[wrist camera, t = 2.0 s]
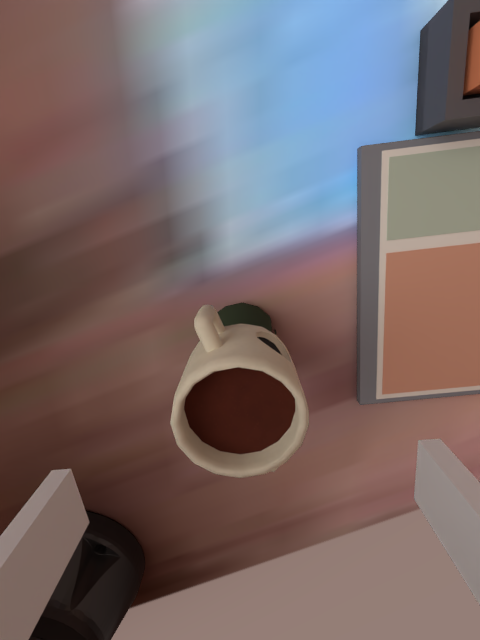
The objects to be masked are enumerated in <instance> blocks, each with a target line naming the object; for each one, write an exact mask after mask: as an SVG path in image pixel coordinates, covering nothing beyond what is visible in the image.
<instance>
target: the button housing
mask: <svg viewBox="0 0 480 640" xmlns="http://www.w3.org/2000/svg"><path fill="white" fill-rule="evenodd" d="M479 21H480V0H448V1H447V2H446V4H445V5H444V6H443V7H442V8H441V9H440V10H439V11H438V12H437V13H436V14H435V16H434V17H433V18H432V19H431V20H430V21H429V22H428V23H427V24H426V25H425V26H424V28H423V29H422V30H421V33H420V52H419V72H418V91H417V110H416V130H415V135H423V134H430V133H438V132H446V131H454V130H462V129H470V128H478V127H480V93H479V94H471V95H464V96H463V88H464V77H465V66H466V55H467V43H468V32H469V29H471V28H472V27H473V26H474V25H475V24H476V23H477V22H479Z"/></svg>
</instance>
